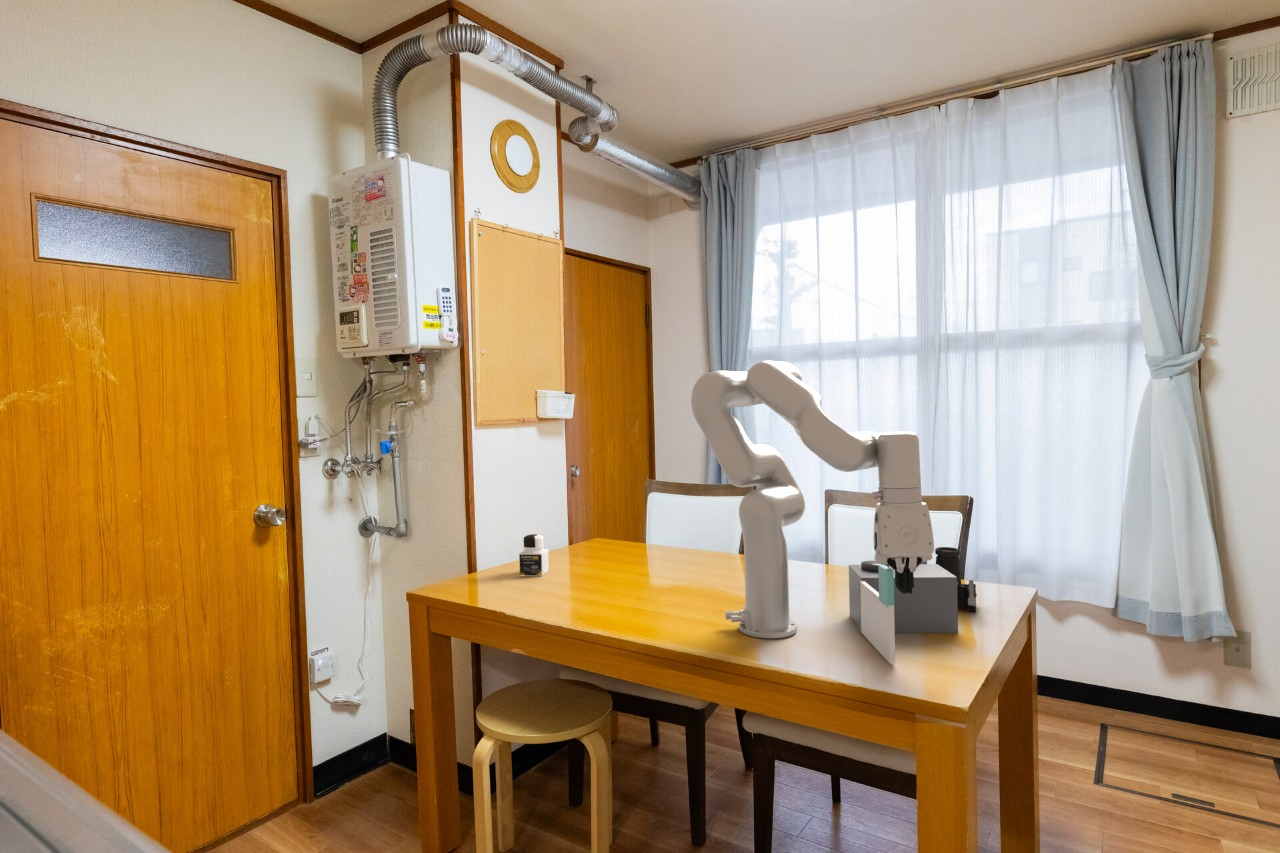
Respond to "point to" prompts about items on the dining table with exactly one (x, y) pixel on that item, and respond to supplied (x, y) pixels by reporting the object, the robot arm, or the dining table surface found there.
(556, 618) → the dining table surface
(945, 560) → the scope
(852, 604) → the plain gray box
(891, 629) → the side door
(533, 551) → the medicine bottle
